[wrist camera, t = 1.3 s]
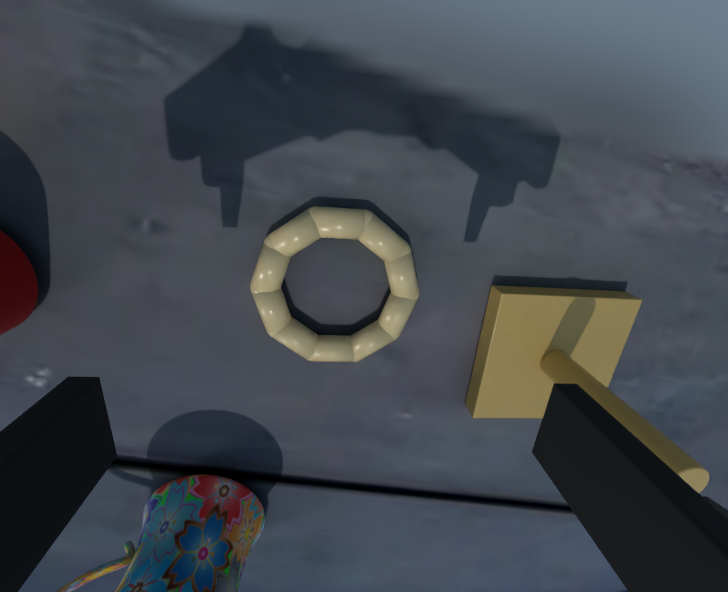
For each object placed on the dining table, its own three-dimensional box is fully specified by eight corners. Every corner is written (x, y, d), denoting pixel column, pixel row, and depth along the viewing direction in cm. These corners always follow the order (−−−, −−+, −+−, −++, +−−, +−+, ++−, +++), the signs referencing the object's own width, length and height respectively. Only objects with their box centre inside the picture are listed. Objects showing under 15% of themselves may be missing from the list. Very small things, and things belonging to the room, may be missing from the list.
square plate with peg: (491, 284, 21) (624, 389, 12) (624, 291, 22) (849, 392, 13) (464, 403, 25) (551, 563, 15) (581, 404, 26) (735, 555, 16)
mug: (281, 468, 25) (248, 664, 15) (264, 552, 28) (227, 760, 19) (102, 449, 23) (-67, 660, 13) (104, 541, 26) (-30, 767, 17)
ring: (250, 199, 18) (243, 203, 17) (426, 211, 19) (434, 216, 18) (256, 351, 22) (250, 365, 20) (406, 354, 23) (411, 368, 21)
